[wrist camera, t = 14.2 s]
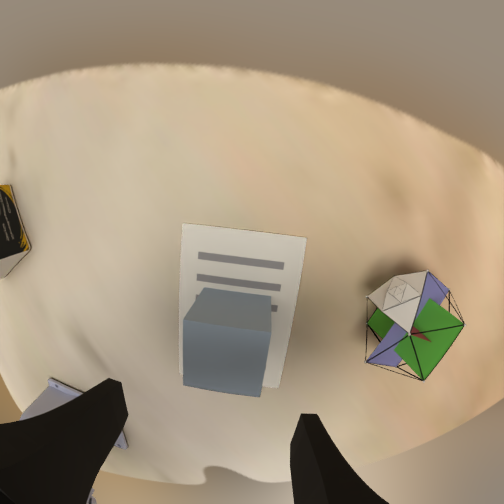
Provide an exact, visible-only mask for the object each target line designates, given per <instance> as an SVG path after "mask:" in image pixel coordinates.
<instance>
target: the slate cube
mask: <svg viewBox="0 0 504 504" xmlns="http://www.w3.org/2000/svg"><path fill="white" fill-rule="evenodd" d="M271 332H272V331H271V296H266V295H258V294H250V293H242V292H235V291H227V290H220V289H213V288H206V287H204V288H203V290H202V291H201V293H200V294H199V296H198V297H197V299H196V300H195V302H194V303H193V305H192V306H191V308H190V309H189V311H188V312H187V314H186V315H185V317H184V319H183V385H185V386H190V387H195V388H200V389H205V390H211V391H217V392H223V393H230V394H237V395H245V396H253V397H260V394H261V389H262V383H263V378H264V373H265V367H266V361H267V356H268V350H269V344H270V338H271Z"/></svg>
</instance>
